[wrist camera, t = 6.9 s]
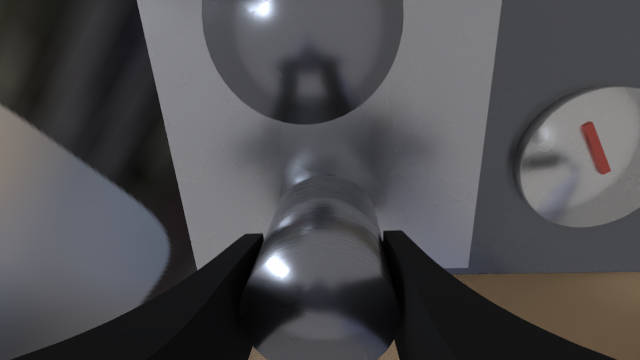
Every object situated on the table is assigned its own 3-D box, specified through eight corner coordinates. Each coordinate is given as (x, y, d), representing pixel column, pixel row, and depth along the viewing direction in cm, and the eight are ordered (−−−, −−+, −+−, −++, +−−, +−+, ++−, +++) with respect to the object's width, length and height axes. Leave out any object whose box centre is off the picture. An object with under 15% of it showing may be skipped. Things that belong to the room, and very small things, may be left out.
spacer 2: (374, 266, 13) (394, 379, 9) (278, 265, 14) (247, 373, 9) (379, 175, 12) (405, 251, 7) (271, 175, 12) (230, 249, 8)
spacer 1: (375, 94, 12) (400, 120, 7) (265, 99, 12) (219, 128, 7) (376, -37, 10) (407, -111, 6) (251, -27, 11) (182, -91, 6)
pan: (462, 258, 15) (467, 267, 14) (203, 262, 16) (197, 271, 15) (499, -58, 11) (510, -66, 10) (141, -30, 11) (128, -36, 11)
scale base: (622, 258, 16) (656, 283, 14) (216, 265, 17) (202, 288, 15) (739, -103, 11) (812, -132, 9) (152, -54, 12) (122, -71, 10)
